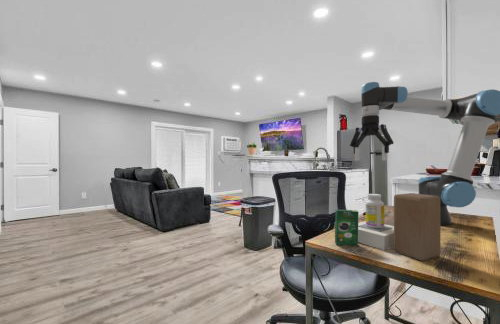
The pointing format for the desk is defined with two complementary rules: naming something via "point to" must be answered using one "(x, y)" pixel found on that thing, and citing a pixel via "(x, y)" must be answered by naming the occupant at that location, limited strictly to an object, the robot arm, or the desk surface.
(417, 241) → the block
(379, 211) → the supplement bottle
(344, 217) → the coffee box
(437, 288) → the desk surface
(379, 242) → the plinth
